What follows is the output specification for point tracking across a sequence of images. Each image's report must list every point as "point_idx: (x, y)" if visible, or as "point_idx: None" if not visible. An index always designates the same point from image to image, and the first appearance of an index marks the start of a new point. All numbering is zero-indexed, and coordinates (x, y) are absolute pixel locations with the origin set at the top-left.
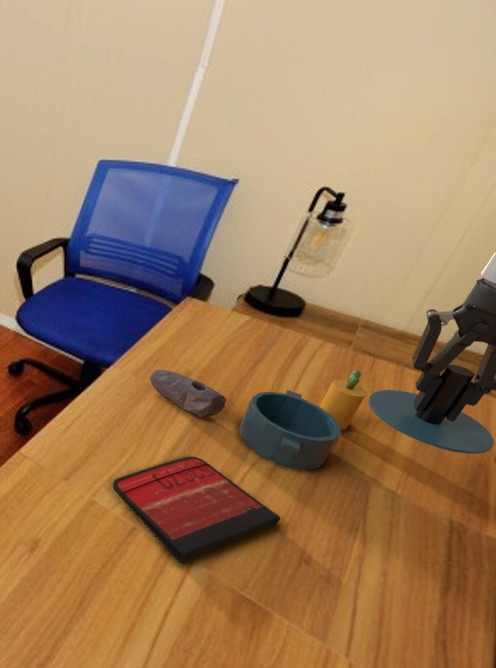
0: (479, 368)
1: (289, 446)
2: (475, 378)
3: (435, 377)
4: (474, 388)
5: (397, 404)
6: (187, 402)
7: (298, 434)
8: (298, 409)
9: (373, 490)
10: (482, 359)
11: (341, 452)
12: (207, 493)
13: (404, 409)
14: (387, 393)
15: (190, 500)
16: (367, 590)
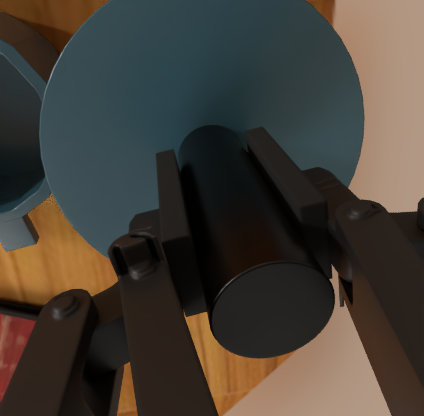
0: (364, 282)
1: (18, 248)
2: (339, 232)
3: (182, 300)
4: (327, 266)
5: (122, 146)
6: None
7: (6, 212)
8: None
9: None
10: (394, 340)
11: (90, 14)
12: (8, 361)
13: (146, 162)
14: (74, 88)
15: (4, 388)
16: (208, 319)
